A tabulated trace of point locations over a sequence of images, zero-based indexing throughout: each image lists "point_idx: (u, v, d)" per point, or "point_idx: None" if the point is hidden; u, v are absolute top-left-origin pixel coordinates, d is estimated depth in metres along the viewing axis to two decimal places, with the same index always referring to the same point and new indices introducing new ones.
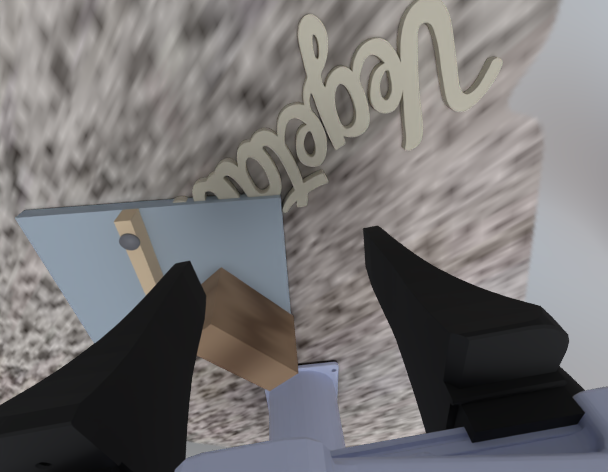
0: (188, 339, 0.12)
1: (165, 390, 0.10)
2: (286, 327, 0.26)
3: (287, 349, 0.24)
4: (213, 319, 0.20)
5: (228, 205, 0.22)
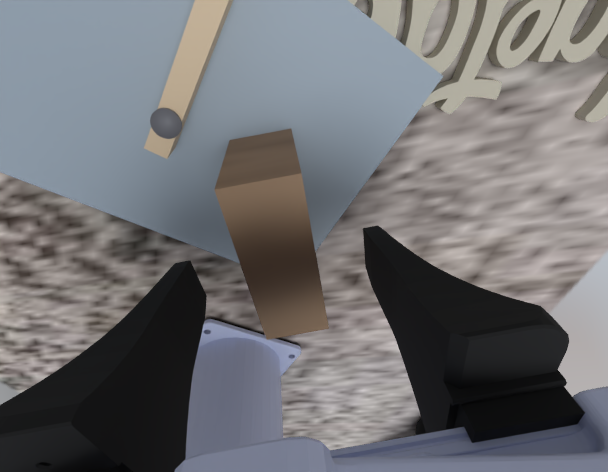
0: (188, 339, 0.12)
1: (165, 390, 0.10)
2: None
3: None
4: (300, 170, 0.11)
5: (380, 36, 0.14)
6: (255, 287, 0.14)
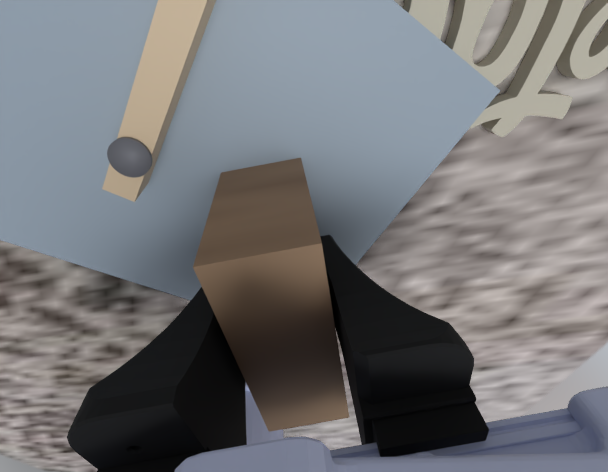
0: None
1: (229, 378, 0.10)
2: None
3: None
4: (319, 236, 0.08)
5: (421, 38, 0.10)
6: (254, 378, 0.10)
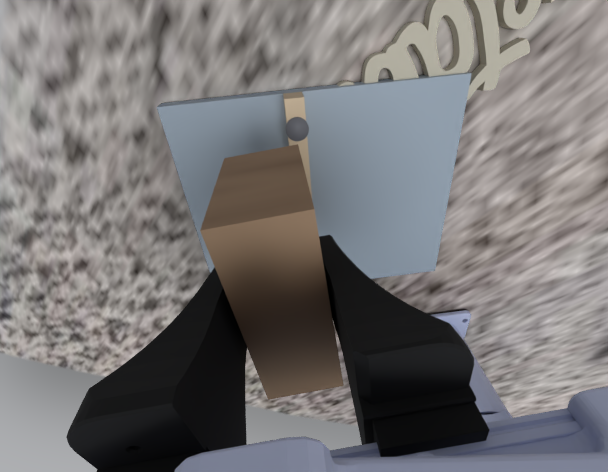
0: None
1: (229, 378, 0.10)
2: None
3: None
4: None
5: (407, 85, 0.18)
6: (254, 343, 0.11)
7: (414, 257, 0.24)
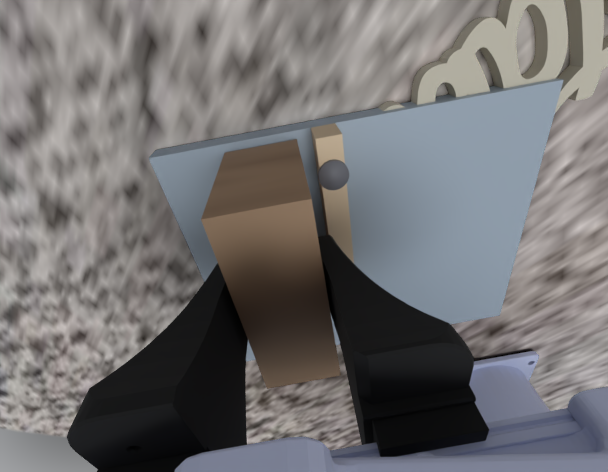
0: (241, 329, 0.12)
1: (229, 378, 0.10)
2: None
3: None
4: (310, 195, 0.09)
5: (476, 103, 0.13)
6: (253, 332, 0.11)
7: (475, 303, 0.20)
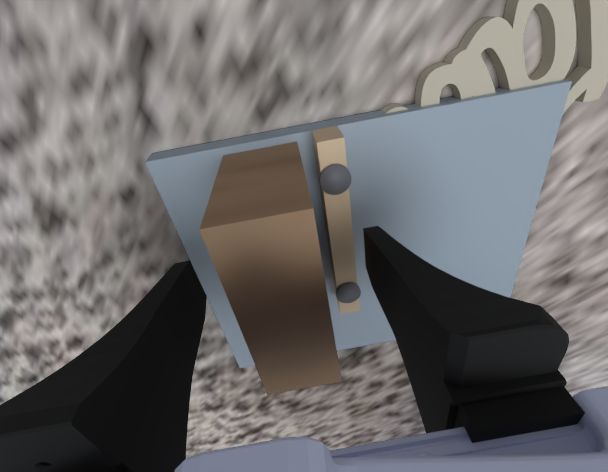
0: (188, 339, 0.12)
1: (165, 390, 0.10)
2: None
3: None
4: (311, 203, 0.09)
5: (481, 105, 0.13)
6: (253, 340, 0.11)
7: None
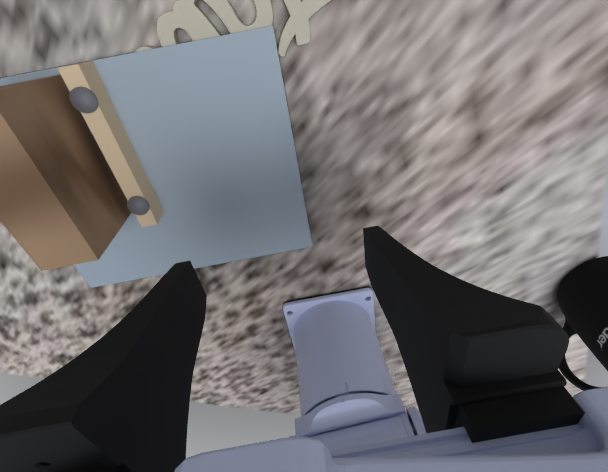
0: (188, 339, 0.12)
1: (165, 390, 0.10)
2: (116, 208, 0.19)
3: (100, 226, 0.17)
4: None
5: (206, 45, 0.16)
6: (1, 213, 0.15)
7: (284, 233, 0.23)
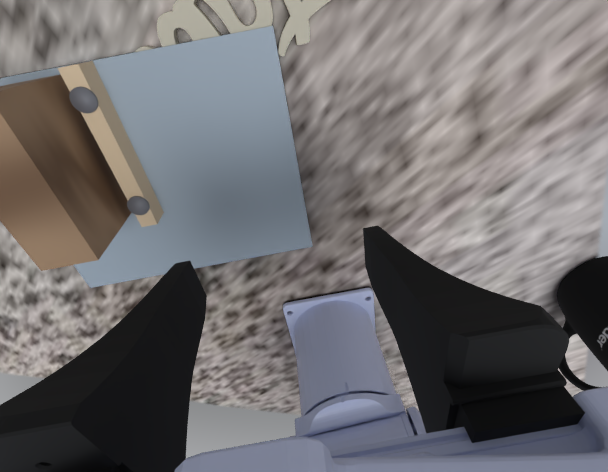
0: (188, 339, 0.12)
1: (165, 390, 0.10)
2: (116, 208, 0.19)
3: (100, 226, 0.17)
4: None
5: (206, 45, 0.16)
6: (1, 213, 0.15)
7: (284, 233, 0.23)
